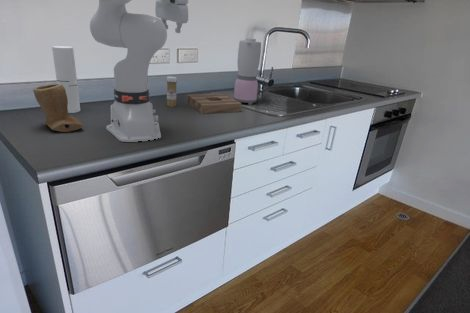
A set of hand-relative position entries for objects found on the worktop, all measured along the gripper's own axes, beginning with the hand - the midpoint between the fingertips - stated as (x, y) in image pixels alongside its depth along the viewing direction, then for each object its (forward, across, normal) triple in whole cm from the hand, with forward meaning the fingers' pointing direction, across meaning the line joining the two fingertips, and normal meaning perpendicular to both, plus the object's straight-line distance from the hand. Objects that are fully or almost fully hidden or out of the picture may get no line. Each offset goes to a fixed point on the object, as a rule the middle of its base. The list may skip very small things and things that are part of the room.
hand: (171, 30), depth 145 cm
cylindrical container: (+28, -4, -49) cm, 57 cm away
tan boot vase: (+25, +15, -60) cm, 66 cm away
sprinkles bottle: (+32, +9, -8) cm, 34 cm away
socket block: (+32, +21, +8) cm, 39 cm away
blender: (+35, +21, +31) cm, 51 cm away
